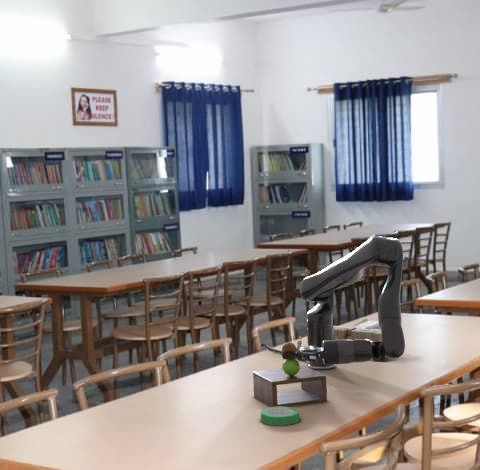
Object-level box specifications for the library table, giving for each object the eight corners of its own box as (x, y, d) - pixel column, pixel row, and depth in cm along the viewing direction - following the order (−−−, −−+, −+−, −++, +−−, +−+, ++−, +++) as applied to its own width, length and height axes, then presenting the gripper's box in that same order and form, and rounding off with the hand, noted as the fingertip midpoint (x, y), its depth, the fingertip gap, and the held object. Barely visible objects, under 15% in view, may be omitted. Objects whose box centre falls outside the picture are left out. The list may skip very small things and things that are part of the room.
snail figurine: (304, 376, 287) (302, 338, 286) (283, 377, 288) (281, 339, 287) (302, 372, 293) (300, 335, 292) (282, 373, 293) (280, 336, 292)
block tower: (391, 351, 361) (324, 343, 380) (391, 330, 360) (324, 322, 379) (381, 355, 355) (314, 346, 374) (381, 333, 354) (314, 325, 373)
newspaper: (353, 342, 379) (353, 333, 378) (325, 340, 386) (325, 331, 386) (389, 327, 406) (389, 319, 406) (362, 326, 414) (362, 318, 414)
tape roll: (289, 427, 263) (289, 417, 263) (254, 423, 269) (254, 414, 268) (305, 417, 272) (305, 408, 272) (271, 413, 278) (270, 404, 278)
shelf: (254, 396, 299) (252, 371, 299) (305, 390, 304) (304, 365, 303) (272, 408, 284) (271, 381, 283) (327, 401, 288) (326, 375, 288)
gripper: (334, 335, 296) (279, 338, 296) (340, 344, 282) (283, 347, 283) (335, 359, 296) (281, 362, 297) (342, 368, 282) (284, 371, 283)
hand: (282, 354), depth 290 cm, fingers closed on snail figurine
